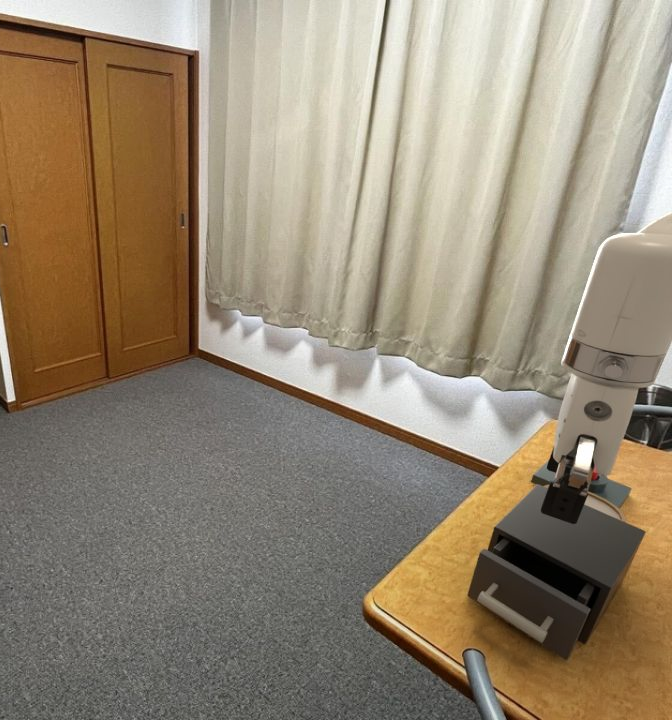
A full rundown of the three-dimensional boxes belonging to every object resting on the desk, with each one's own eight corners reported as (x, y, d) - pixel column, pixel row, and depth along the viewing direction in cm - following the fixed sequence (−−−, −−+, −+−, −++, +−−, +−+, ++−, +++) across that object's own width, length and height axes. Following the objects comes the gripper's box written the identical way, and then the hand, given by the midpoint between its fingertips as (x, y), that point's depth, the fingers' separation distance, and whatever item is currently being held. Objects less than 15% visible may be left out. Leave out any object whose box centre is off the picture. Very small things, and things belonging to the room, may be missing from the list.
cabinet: (585, 644, 58) (611, 588, 55) (478, 578, 68) (494, 526, 64) (621, 584, 66) (646, 531, 63) (521, 532, 76) (537, 483, 72)
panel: (628, 495, 83) (635, 479, 82) (612, 518, 78) (619, 501, 77) (549, 463, 92) (554, 448, 91) (530, 482, 87) (535, 466, 86)
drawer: (554, 681, 53) (574, 634, 50) (452, 611, 62) (464, 567, 59) (603, 600, 63) (623, 556, 60) (509, 549, 71) (523, 508, 68)
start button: (599, 475, 83) (603, 467, 83) (592, 483, 81) (596, 475, 81) (575, 465, 86) (578, 457, 85) (568, 473, 84) (571, 465, 83)
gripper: (670, 401, 40) (602, 554, 47) (651, 342, 52) (599, 469, 59) (560, 378, 44) (513, 522, 51) (567, 329, 57) (528, 449, 63)
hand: (559, 493), depth 55 cm, fingers open, 9 cm apart
